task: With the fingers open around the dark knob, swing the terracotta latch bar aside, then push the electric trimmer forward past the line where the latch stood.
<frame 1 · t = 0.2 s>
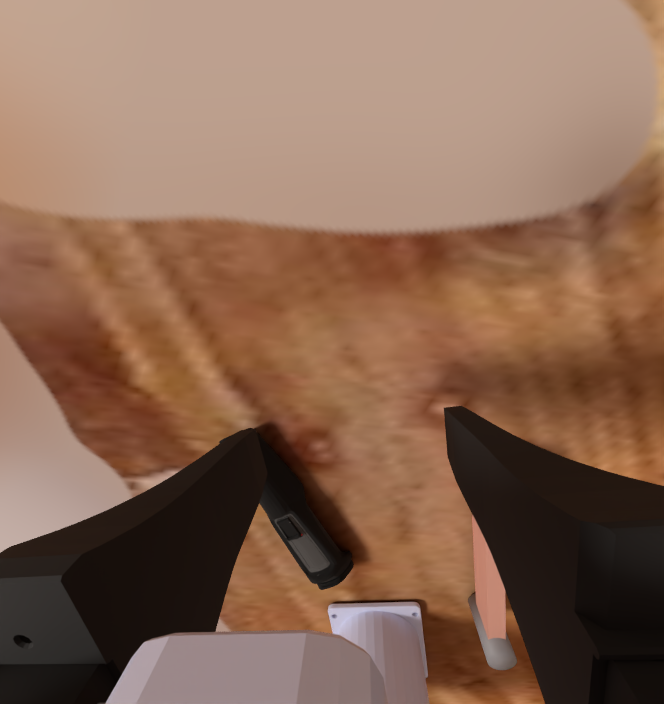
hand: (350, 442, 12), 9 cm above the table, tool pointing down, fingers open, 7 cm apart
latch: (489, 559, 22), point 2 cm above the table, hinge at 0.0°
electric trimmer: (292, 497, 25), on the table
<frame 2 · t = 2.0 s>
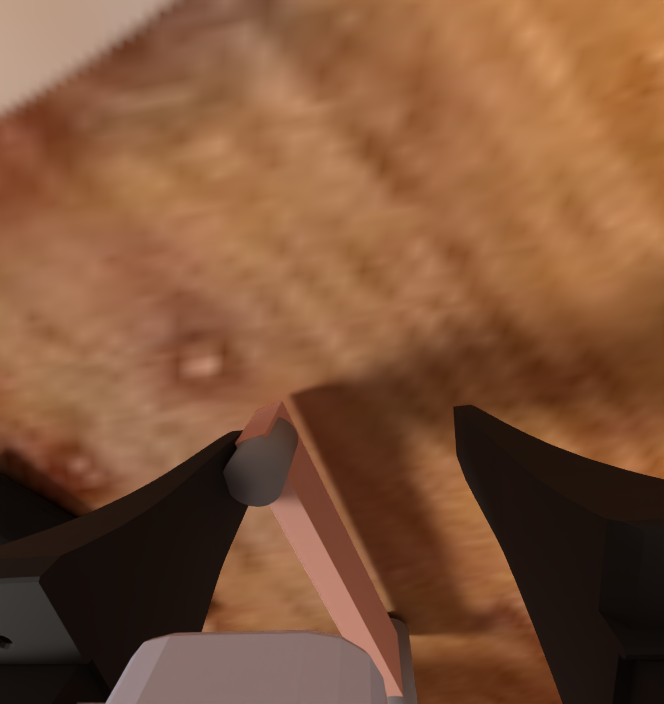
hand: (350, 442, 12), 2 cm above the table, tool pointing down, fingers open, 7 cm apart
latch: (340, 576, 14), point 2 cm above the table, hinge at -2.9°, touching gripper
electric trimmer: (94, 542, 19), on the table
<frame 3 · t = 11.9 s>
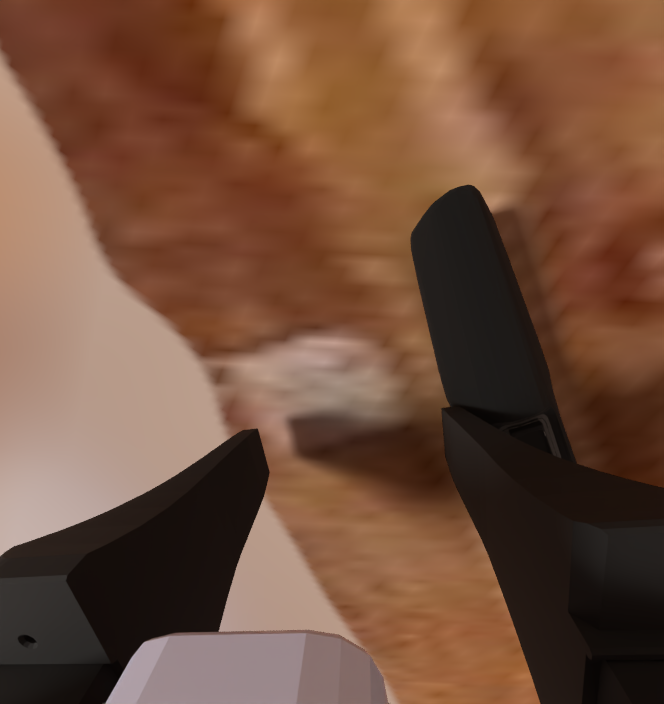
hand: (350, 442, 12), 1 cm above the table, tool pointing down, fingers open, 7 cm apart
electric trimmer: (489, 403, 13), on the table, touching gripper
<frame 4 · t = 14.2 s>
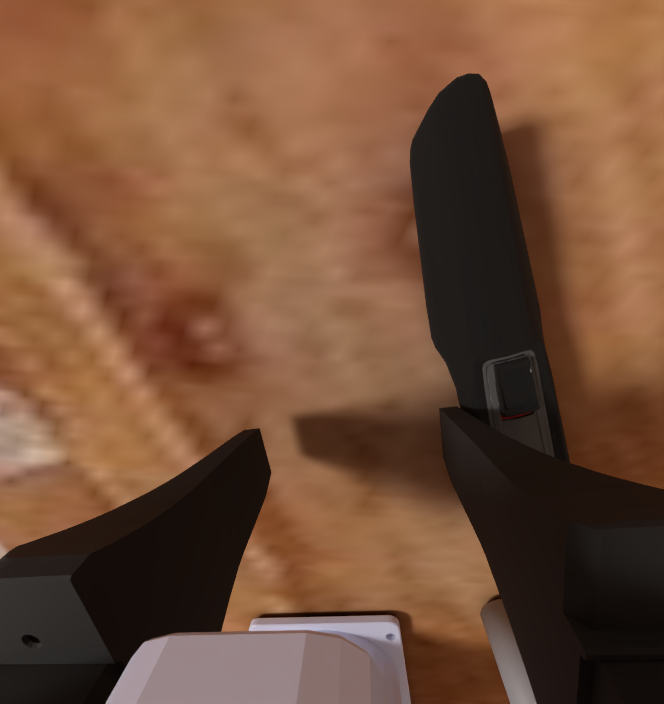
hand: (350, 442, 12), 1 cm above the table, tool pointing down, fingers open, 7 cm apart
electric trimmer: (474, 353, 12), on the table, touching gripper
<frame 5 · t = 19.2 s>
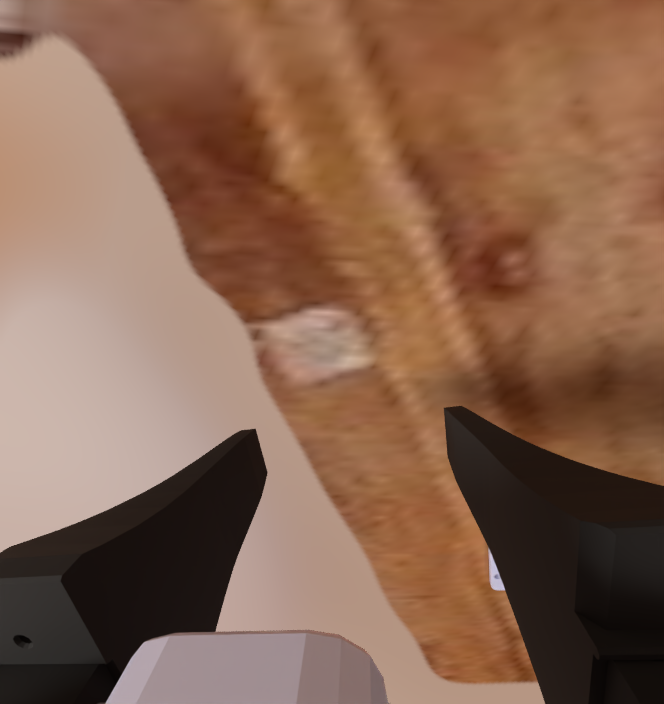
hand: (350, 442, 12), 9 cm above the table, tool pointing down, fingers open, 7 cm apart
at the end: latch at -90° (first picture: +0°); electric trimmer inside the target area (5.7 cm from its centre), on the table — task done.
